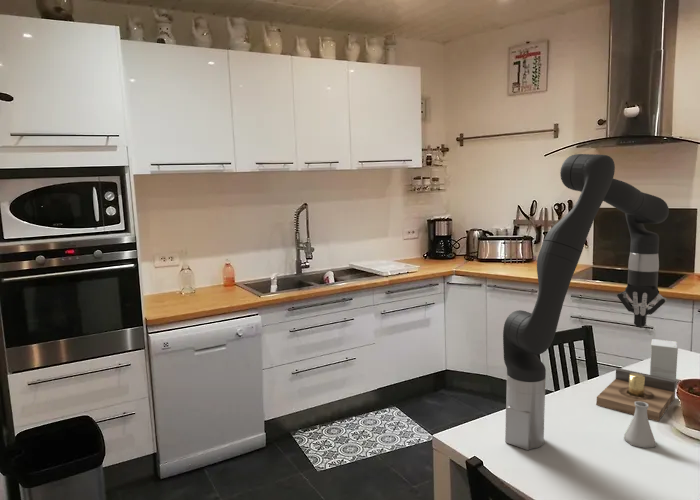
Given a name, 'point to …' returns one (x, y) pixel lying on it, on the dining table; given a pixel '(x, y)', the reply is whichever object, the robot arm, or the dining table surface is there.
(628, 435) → the flask
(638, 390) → the gold upright block
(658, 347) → the supplement box
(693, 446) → the dining table surface
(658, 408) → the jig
